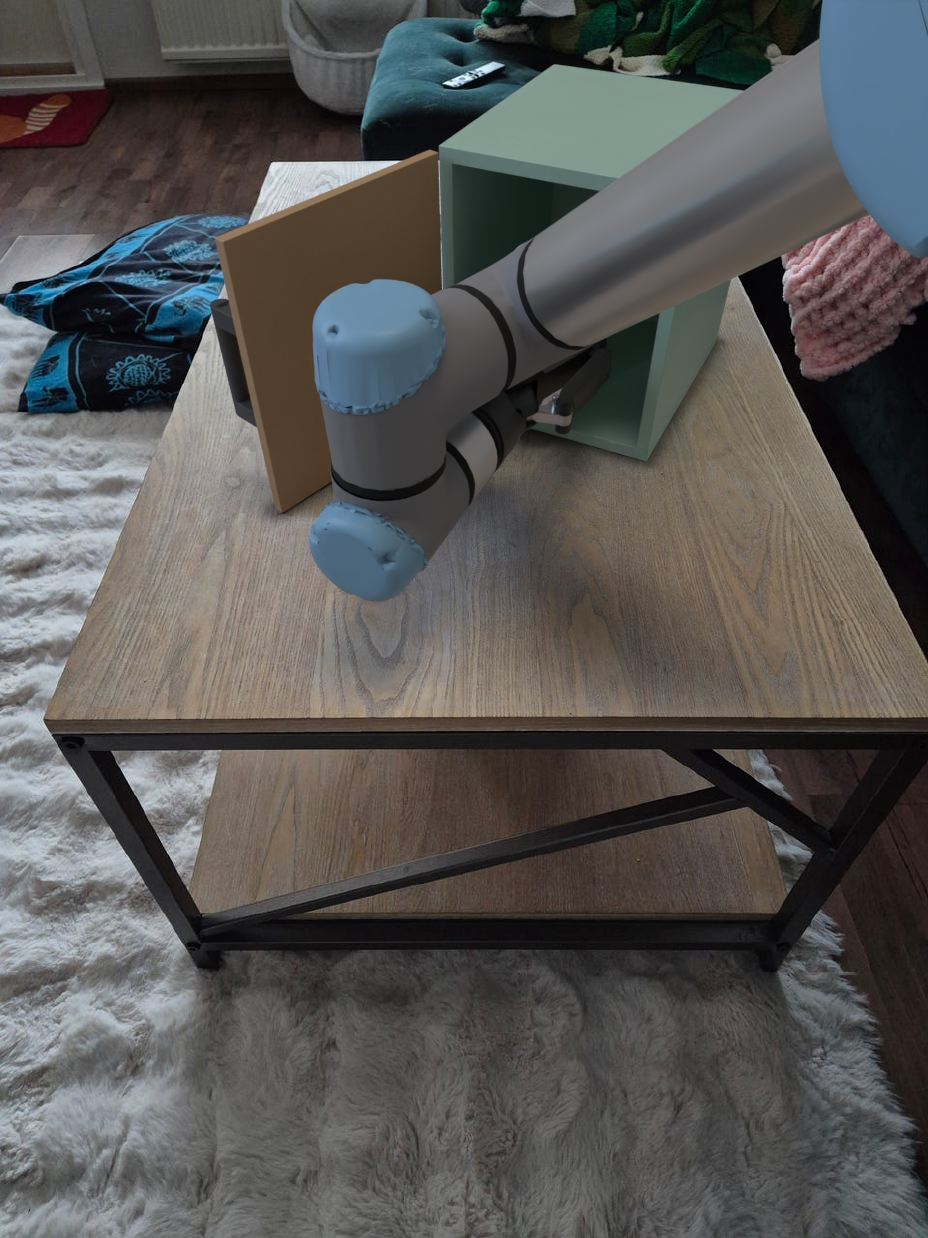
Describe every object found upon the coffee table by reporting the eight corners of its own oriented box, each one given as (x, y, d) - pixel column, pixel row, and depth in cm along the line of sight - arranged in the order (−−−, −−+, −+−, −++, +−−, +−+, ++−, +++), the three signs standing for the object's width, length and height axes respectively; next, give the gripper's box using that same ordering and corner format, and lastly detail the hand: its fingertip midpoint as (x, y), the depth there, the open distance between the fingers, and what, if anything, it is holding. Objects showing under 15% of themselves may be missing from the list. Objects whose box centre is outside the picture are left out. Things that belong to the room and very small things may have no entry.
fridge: (646, 461, 80) (697, 191, 62) (445, 404, 87) (438, 145, 69) (716, 342, 95) (774, 94, 76) (539, 300, 101) (553, 63, 83)
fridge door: (237, 483, 78) (168, 215, 60) (401, 385, 89) (383, 133, 71) (282, 513, 75) (223, 241, 58) (445, 408, 86) (438, 151, 68)
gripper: (353, 448, 71) (475, 322, 84) (570, 516, 65) (663, 367, 78) (343, 368, 65) (475, 246, 79) (579, 433, 59) (678, 290, 73)
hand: (569, 307), depth 79 cm, fingers closed on drinking glass, 6 cm apart
